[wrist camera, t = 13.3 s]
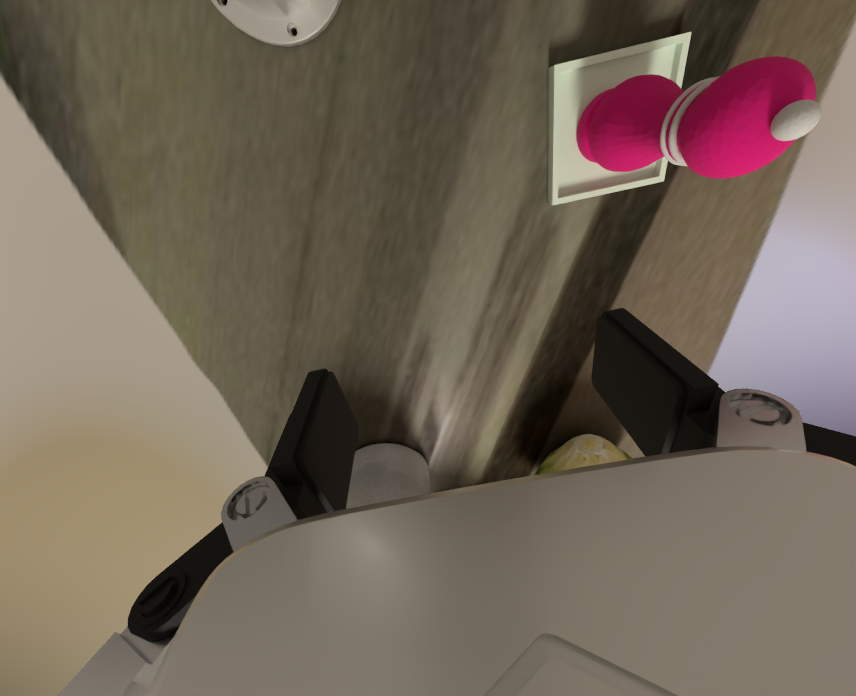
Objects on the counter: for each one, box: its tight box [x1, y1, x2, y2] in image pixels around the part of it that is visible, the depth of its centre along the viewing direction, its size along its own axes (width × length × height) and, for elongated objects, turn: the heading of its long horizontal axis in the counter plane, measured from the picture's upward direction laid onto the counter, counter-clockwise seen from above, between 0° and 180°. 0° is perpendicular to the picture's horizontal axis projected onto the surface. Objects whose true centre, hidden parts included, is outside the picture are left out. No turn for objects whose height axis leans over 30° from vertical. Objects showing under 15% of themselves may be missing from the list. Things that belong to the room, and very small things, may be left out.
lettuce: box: [535, 434, 632, 475], centre depth 55 cm, size 19×23×18 cm
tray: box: [548, 32, 691, 205], centre depth 33 cm, size 12×12×2 cm
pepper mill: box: [577, 57, 821, 178], centre depth 25 cm, size 7×7×20 cm
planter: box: [346, 443, 430, 509], centre depth 55 cm, size 16×16×16 cm
